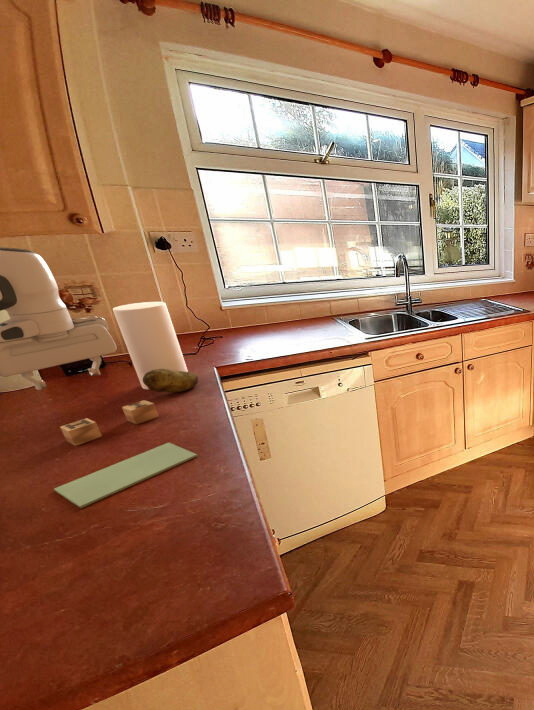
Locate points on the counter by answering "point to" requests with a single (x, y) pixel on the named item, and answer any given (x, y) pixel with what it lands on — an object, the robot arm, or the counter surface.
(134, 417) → the tan boxy piece
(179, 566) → the counter surface
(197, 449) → the counter surface
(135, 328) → the cylinder
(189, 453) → the mat
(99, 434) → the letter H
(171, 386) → the potato
